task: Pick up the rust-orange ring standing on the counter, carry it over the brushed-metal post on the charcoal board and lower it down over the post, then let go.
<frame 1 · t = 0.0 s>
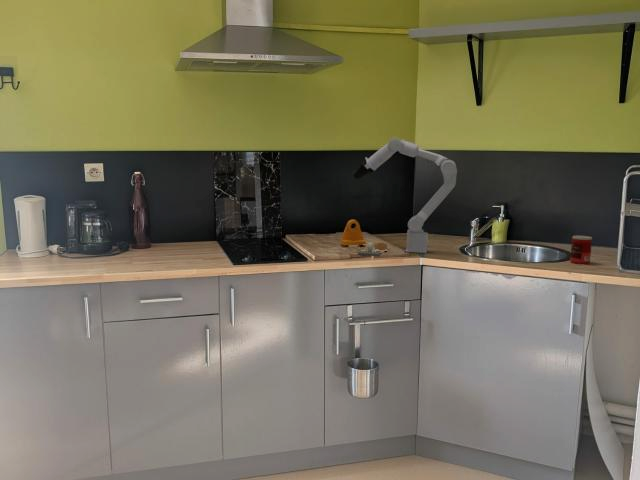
hand: (356, 177, 278), 32 cm above the worktop, tool tilted 50°, fingers open, 7 cm apart
canned food: (579, 263, 257), on the worktop
ring: (380, 251, 275), on the worktop
post block: (370, 253, 268), on the worktop
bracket: (353, 246, 288), on the worktop
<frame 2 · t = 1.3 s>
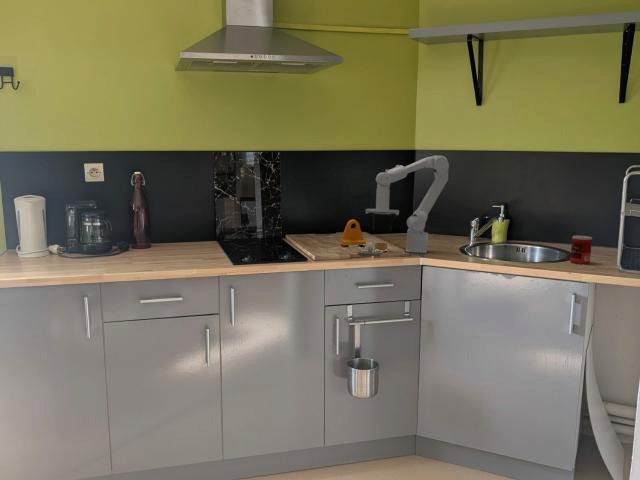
hand: (381, 230, 273), 9 cm above the worktop, tool pointing down, fingers open, 7 cm apart
nothing on the worktop moved.
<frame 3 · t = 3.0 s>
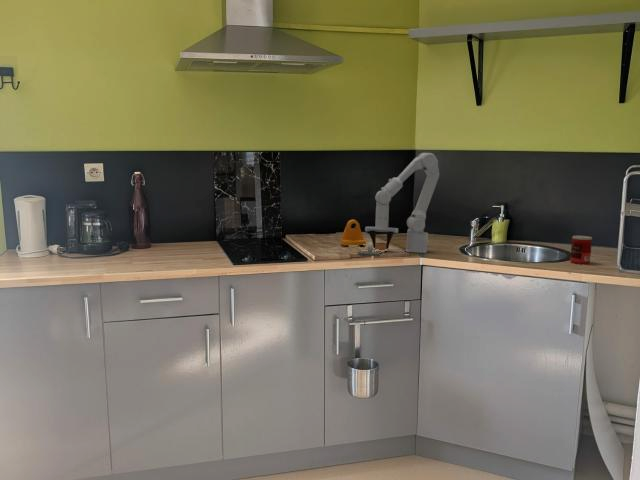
hand: (380, 248, 275), 1 cm above the worktop, tool pointing down, fingers closed on ring, 5 cm apart
ring: (380, 251, 275), on the worktop, touching gripper
everything else where it was.
when the fingers open (3 cm above the worktop, at t = 6.8 s): ring stays where it is, resting on post block.
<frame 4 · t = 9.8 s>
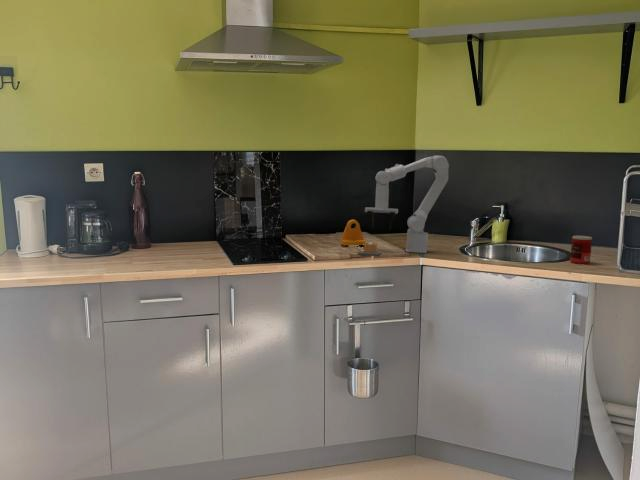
hand: (380, 228, 274), 10 cm above the worktop, tool pointing down, fingers open, 7 cm apart
ring: (370, 251, 267), point 1 cm above the worktop, touching post block
everything else where it was.
at the end: ring 0.1 cm off-centre on the post block, point 1.0 cm above the post block's base; the gripper is holding nothing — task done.
